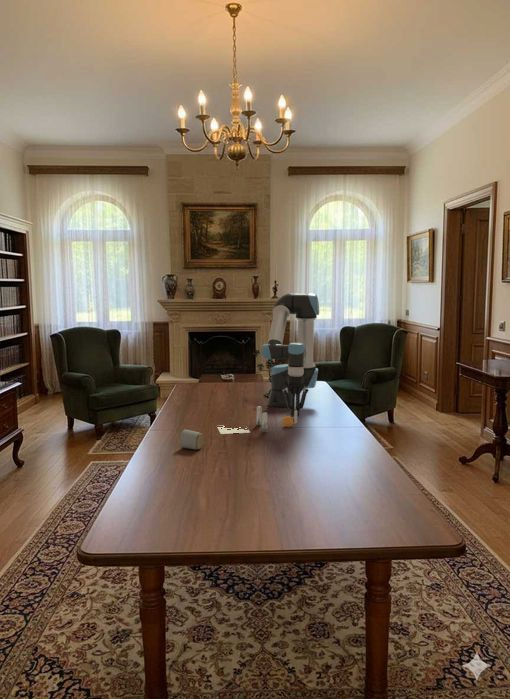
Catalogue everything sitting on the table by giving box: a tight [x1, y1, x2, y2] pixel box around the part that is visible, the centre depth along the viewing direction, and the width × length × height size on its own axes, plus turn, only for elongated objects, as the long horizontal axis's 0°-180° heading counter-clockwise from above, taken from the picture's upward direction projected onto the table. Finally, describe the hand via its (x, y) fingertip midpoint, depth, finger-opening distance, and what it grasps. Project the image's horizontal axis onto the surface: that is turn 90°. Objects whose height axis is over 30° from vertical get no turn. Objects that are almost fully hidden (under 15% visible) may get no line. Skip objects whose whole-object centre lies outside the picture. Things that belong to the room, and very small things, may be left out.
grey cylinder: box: [179, 429, 204, 451], centre depth 211 cm, size 11×8×8 cm
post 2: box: [261, 411, 269, 433], centre depth 236 cm, size 2×2×9 cm
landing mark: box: [216, 425, 251, 435], centre depth 239 cm, size 14×14×1 cm
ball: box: [281, 415, 294, 428], centre depth 244 cm, size 6×6×6 cm
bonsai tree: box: [252, 349, 286, 397], centre depth 311 cm, size 35×24×32 cm
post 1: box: [256, 405, 263, 426], centre depth 248 cm, size 2×2×9 cm
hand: (294, 422), depth 245 cm, fingers closed
